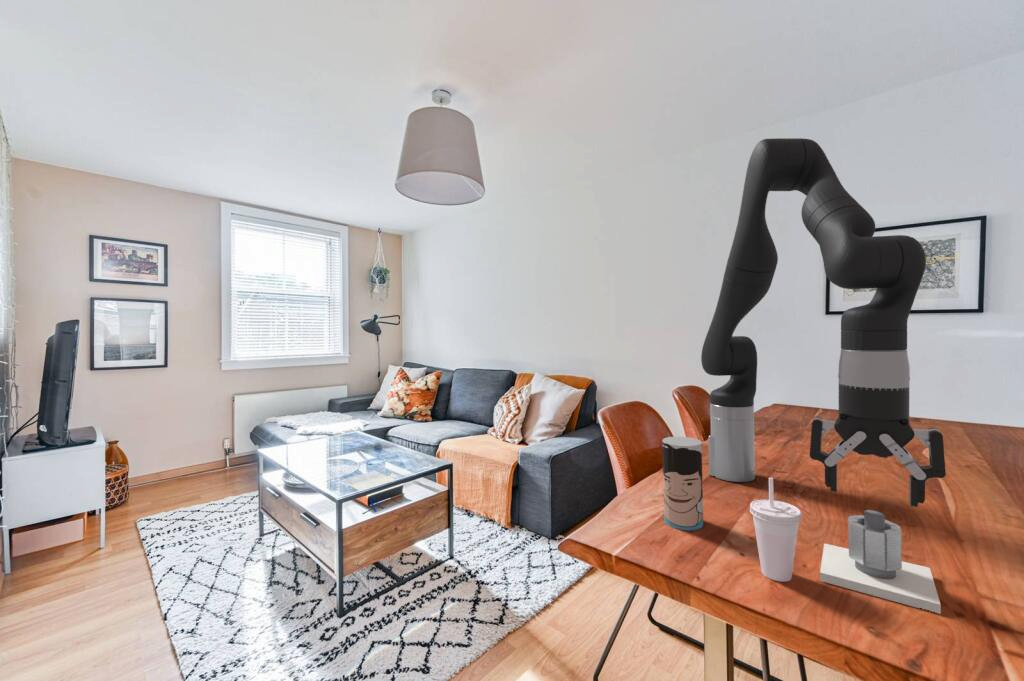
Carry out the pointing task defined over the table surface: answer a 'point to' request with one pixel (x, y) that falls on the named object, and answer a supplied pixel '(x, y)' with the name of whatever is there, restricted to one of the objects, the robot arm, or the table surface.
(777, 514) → the smoothie
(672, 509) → the printed cylinder can
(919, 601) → the shaft block
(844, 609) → the table surface
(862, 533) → the ring
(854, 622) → the table surface
